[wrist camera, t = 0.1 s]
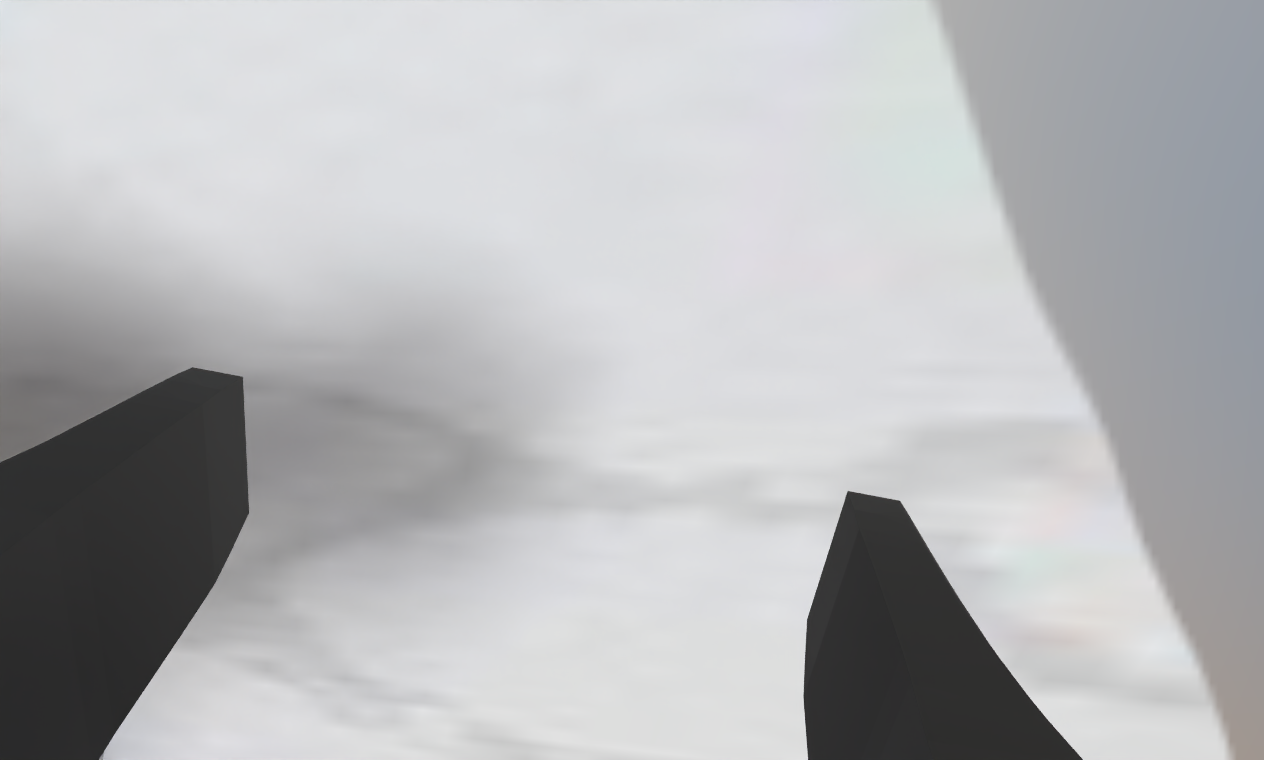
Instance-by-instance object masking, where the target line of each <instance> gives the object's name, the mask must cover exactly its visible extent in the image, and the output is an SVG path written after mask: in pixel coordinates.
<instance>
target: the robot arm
mask: <svg viewBox="0 0 1264 760" xmlns="http://www.w3.org/2000/svg"><path fill="white" fill-rule="evenodd" d="M248 514H249V503H248V482H247V460H246V438H245V416H244V394H243V377H240V376H235V375H230V374H224V373H219V372H214V371H208V370H203V369H198V368H193V367H192V368H190V369H188V370H186V371H183V372H181V373H179V374H177V375H175V376H173V377H171V378H169V379H167V380H165V381H163V382H161V383H159V384H157V385H155V386H153V387H151V388H149V389H147V390H145V391H143V392H141V393H139V394H137V395H135V396H133V397H132V398H130V399H128V400H126V401H124V402H122V403H120V404H118V405H116V406H114V407H112V408H111V409H109V410H107V411H105V412H103V413H101V414H99V415H97V416H95V417H93V418H91V419H89V420H87V421H85V422H83V423H81V424H79V425H77V426H75V427H73V428H72V429H70V430H68V431H66V432H64V433H62V434H60V435H58V436H56V437H54V438H52V439H50V440H48V441H46V442H44V443H42V444H40V445H38V446H36V447H33V448H31V449H29V450H27V451H25V452H23V453H20V454H18V455H16V456H14V457H12V458H10V459H7V460H5V461H3V462H1V463H0V760H99V759H100V757H101V755H102V754H103V752H104V750H105V749H106V747H107V745H108V744H109V742H110V741H111V739H112V737H113V736H114V734H115V733H116V731H117V730H118V728H119V727H120V725H121V724H122V722H123V721H124V719H125V718H126V716H127V715H128V713H129V712H130V710H131V709H132V707H133V706H134V704H135V703H136V701H137V700H138V698H139V697H140V695H141V694H142V692H143V691H144V689H145V688H146V686H147V685H148V684H149V682H150V681H151V679H152V678H153V676H154V675H155V673H156V672H157V670H158V669H159V667H160V666H161V664H162V663H163V661H164V660H165V658H166V657H167V655H168V654H169V652H170V651H171V649H172V648H173V646H174V645H175V643H176V642H177V640H178V639H179V638H180V636H181V634H182V633H183V631H184V630H185V628H186V627H187V625H188V624H189V622H190V621H191V619H192V618H193V616H194V615H195V613H196V612H197V610H198V609H199V607H200V606H201V604H202V603H203V601H204V600H205V598H206V597H207V595H208V593H209V592H210V590H211V589H212V587H213V586H214V584H215V582H216V580H217V578H218V576H219V574H220V572H221V570H222V568H223V566H224V564H225V562H226V560H227V558H228V556H229V554H230V552H231V550H232V548H233V546H234V544H235V542H236V539H237V537H238V535H239V533H240V531H241V529H242V527H243V524H244V522H245V520H246V518H247V516H248ZM804 709H805V723H806V736H807V749H808V760H1083V759H1082V758H1081V757H1080V756H1079V755H1078V754H1077V753H1076V751H1075V750H1074V749H1073V748H1072V747H1071V746H1070V745H1069V744H1068V742H1067V741H1066V740H1065V739H1064V738H1063V737H1062V736H1061V734H1060V733H1059V732H1058V731H1057V730H1056V729H1055V728H1054V727H1053V725H1052V724H1051V723H1050V722H1049V721H1048V720H1047V719H1046V717H1045V716H1044V715H1043V714H1042V712H1041V711H1040V710H1039V709H1038V708H1037V706H1036V705H1035V704H1034V703H1033V701H1032V700H1031V699H1030V698H1029V696H1028V695H1027V694H1026V693H1025V691H1024V690H1023V689H1022V687H1021V686H1020V685H1019V683H1018V682H1017V681H1016V679H1015V678H1014V677H1013V675H1012V674H1011V673H1010V671H1009V670H1008V669H1007V667H1006V666H1005V665H1004V664H1003V662H1002V661H1001V660H1000V658H999V657H998V655H997V654H996V653H995V651H994V650H993V648H992V647H991V646H990V644H989V643H988V641H987V640H986V638H985V637H984V635H983V634H982V632H981V631H980V629H979V628H978V626H977V625H976V623H975V622H974V620H973V619H972V617H971V616H970V614H969V613H968V611H967V610H966V608H965V607H964V605H963V604H962V602H961V601H960V599H959V597H958V596H957V594H956V593H955V591H954V589H953V588H952V586H951V585H950V583H949V581H948V580H947V578H946V577H945V575H944V573H943V572H942V570H941V568H940V567H939V565H938V563H937V562H936V560H935V558H934V557H933V555H932V553H931V552H930V550H929V548H928V547H927V545H926V543H925V542H924V540H923V538H922V536H921V535H920V533H919V531H918V530H917V528H916V526H915V525H914V523H913V521H912V520H911V518H910V516H909V515H908V513H907V511H906V510H905V508H904V507H903V505H902V504H901V502H900V501H898V500H892V499H887V498H882V497H876V496H871V495H866V494H861V493H855V492H850V491H848V492H847V495H846V499H845V502H844V505H843V508H842V511H841V514H840V518H839V521H838V524H837V527H836V530H835V533H834V536H833V540H832V543H831V546H830V549H829V552H828V555H827V559H826V562H825V565H824V568H823V571H822V574H821V578H820V581H819V584H818V587H817V590H816V593H815V597H814V600H813V603H812V606H811V609H810V612H809V616H808V619H807V633H806V652H805V674H804Z"/></svg>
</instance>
